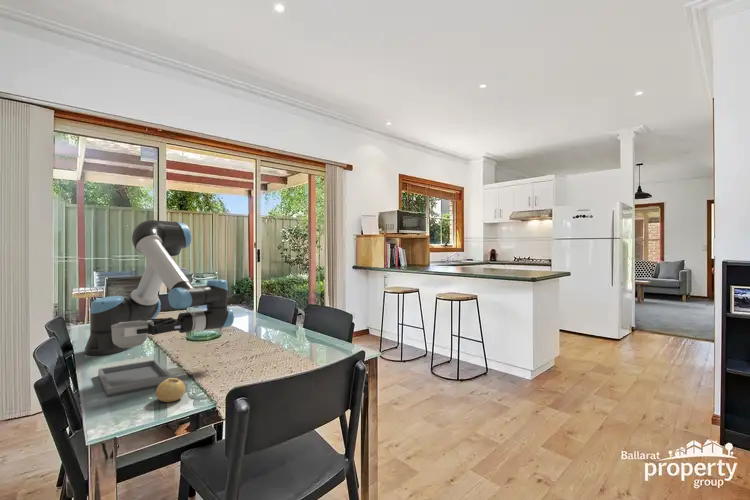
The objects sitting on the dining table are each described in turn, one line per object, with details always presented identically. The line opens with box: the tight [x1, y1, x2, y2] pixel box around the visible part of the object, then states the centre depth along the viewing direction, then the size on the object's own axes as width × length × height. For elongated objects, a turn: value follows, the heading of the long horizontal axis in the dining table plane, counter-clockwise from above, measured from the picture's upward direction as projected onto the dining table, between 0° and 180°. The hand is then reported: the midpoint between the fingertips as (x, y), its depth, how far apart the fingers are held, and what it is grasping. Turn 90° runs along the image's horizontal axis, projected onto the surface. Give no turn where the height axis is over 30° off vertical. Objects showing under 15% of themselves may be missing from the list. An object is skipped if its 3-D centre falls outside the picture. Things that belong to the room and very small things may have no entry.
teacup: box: [111, 320, 154, 349], centre depth 130 cm, size 14×11×8 cm
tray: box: [97, 359, 173, 398], centre depth 130 cm, size 24×18×2 cm
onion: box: [155, 376, 186, 403], centre depth 114 cm, size 8×8×7 cm
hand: (121, 329), depth 127 cm, fingers closed on teacup, 11 cm apart
